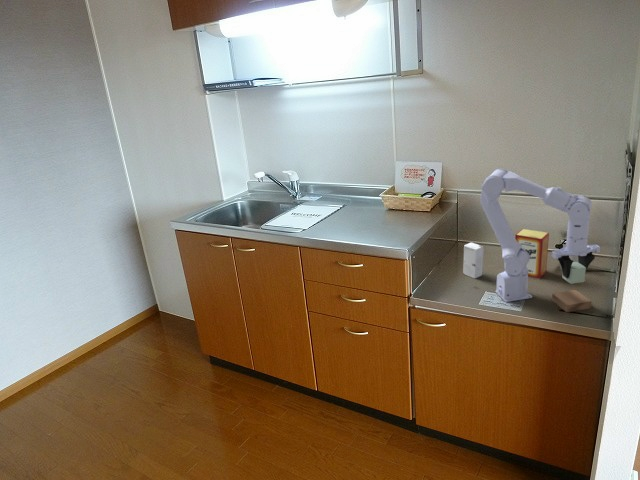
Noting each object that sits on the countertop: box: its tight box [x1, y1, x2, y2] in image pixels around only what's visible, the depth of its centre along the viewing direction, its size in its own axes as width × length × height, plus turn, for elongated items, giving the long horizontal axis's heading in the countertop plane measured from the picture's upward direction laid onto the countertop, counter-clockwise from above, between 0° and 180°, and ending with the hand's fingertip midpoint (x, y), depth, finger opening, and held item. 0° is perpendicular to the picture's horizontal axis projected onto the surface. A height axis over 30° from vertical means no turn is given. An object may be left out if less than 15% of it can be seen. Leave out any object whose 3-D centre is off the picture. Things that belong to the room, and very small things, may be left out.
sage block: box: [561, 262, 587, 285], centre depth 146 cm, size 4×4×5 cm
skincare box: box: [462, 242, 484, 279], centre depth 175 cm, size 6×4×12 cm
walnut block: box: [551, 289, 592, 313], centre depth 150 cm, size 8×8×3 cm
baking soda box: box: [514, 228, 550, 279], centre depth 170 cm, size 10×6×16 cm
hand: (573, 275), depth 146 cm, fingers closed on sage block, 4 cm apart
